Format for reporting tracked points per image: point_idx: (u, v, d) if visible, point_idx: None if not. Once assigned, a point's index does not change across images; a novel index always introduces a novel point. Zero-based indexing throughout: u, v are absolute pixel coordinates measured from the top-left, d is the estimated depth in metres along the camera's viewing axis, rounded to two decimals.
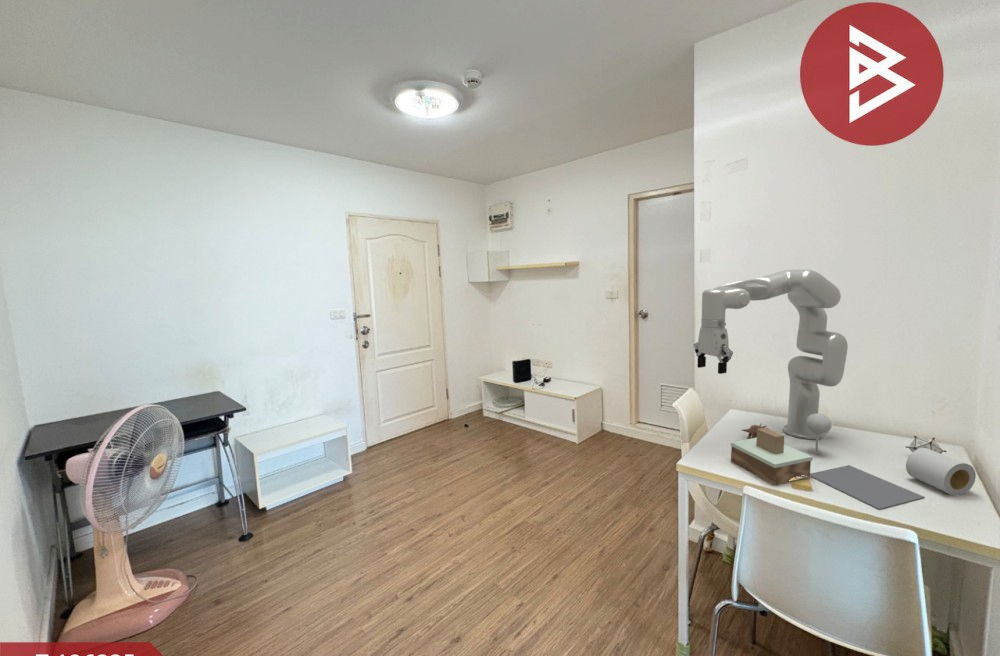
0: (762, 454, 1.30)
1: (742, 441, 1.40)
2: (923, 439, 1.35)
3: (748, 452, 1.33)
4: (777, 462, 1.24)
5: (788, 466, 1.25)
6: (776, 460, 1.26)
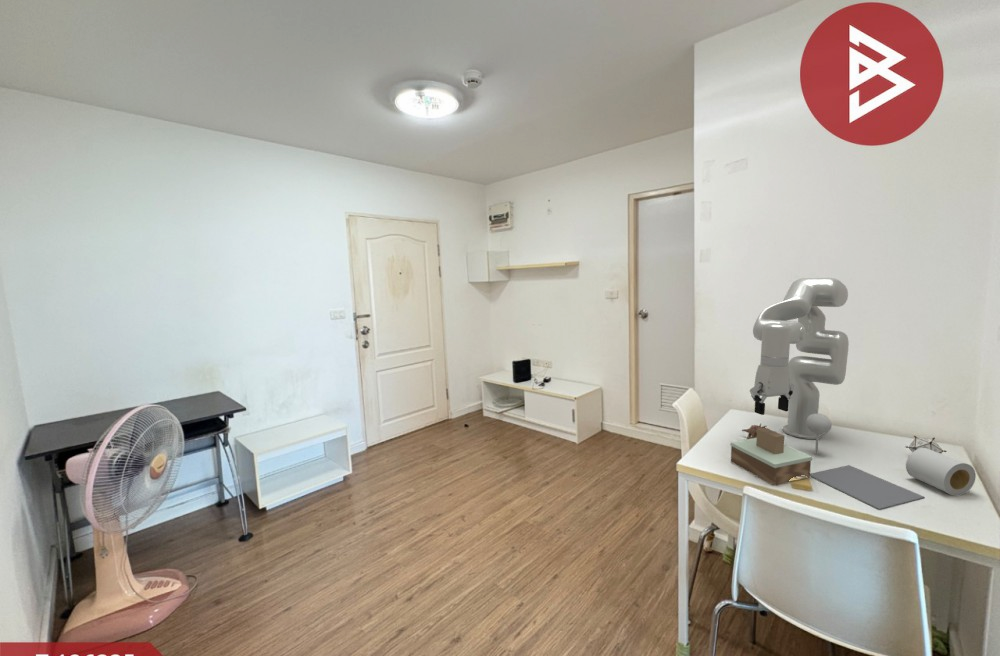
0: (762, 454, 1.30)
1: (742, 441, 1.40)
2: (923, 439, 1.35)
3: (748, 452, 1.33)
4: (777, 462, 1.24)
5: (788, 466, 1.25)
6: (776, 460, 1.26)
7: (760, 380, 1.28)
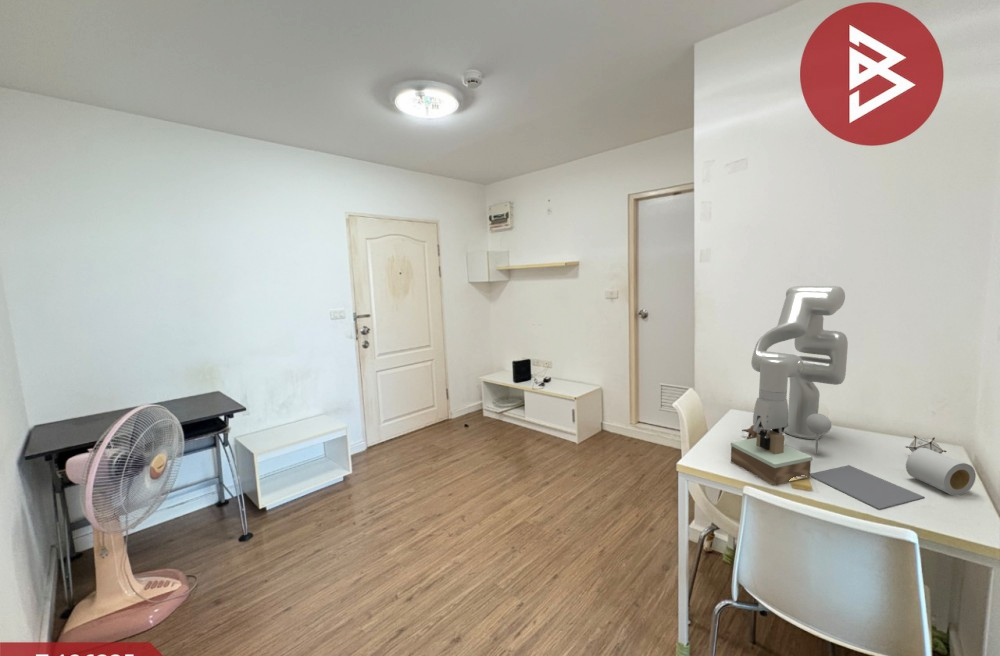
0: (762, 454, 1.30)
1: (742, 441, 1.40)
2: (923, 439, 1.35)
3: (748, 452, 1.33)
4: (777, 462, 1.24)
5: (788, 466, 1.25)
6: (776, 460, 1.26)
7: (759, 413, 1.30)
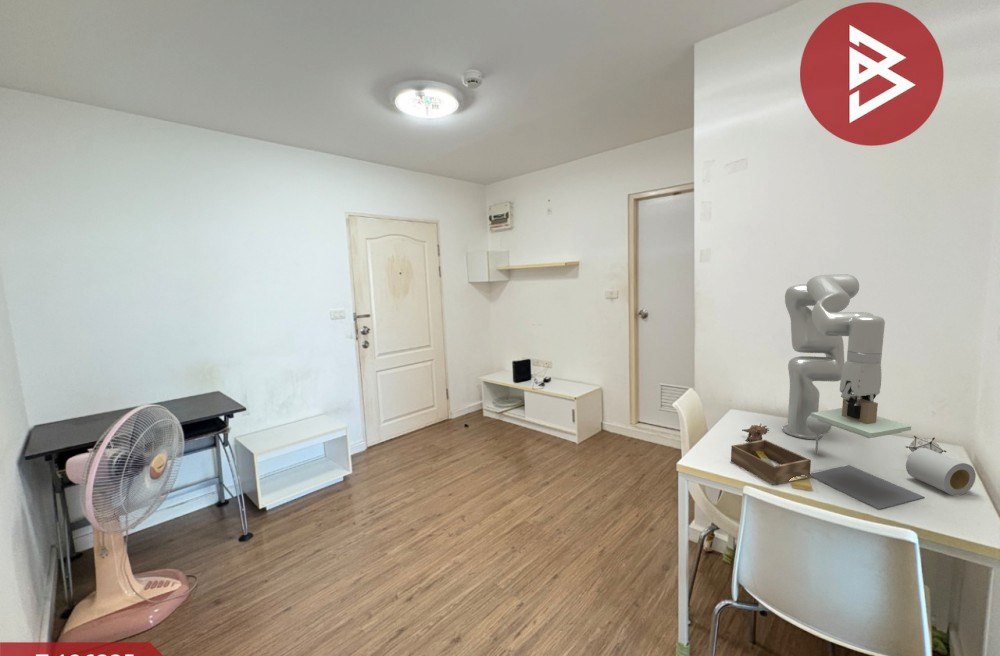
0: (852, 423, 1.17)
1: (824, 412, 1.27)
2: (923, 439, 1.35)
3: (834, 422, 1.20)
4: (873, 431, 1.11)
5: (788, 466, 1.25)
6: (870, 429, 1.13)
7: (848, 378, 1.17)
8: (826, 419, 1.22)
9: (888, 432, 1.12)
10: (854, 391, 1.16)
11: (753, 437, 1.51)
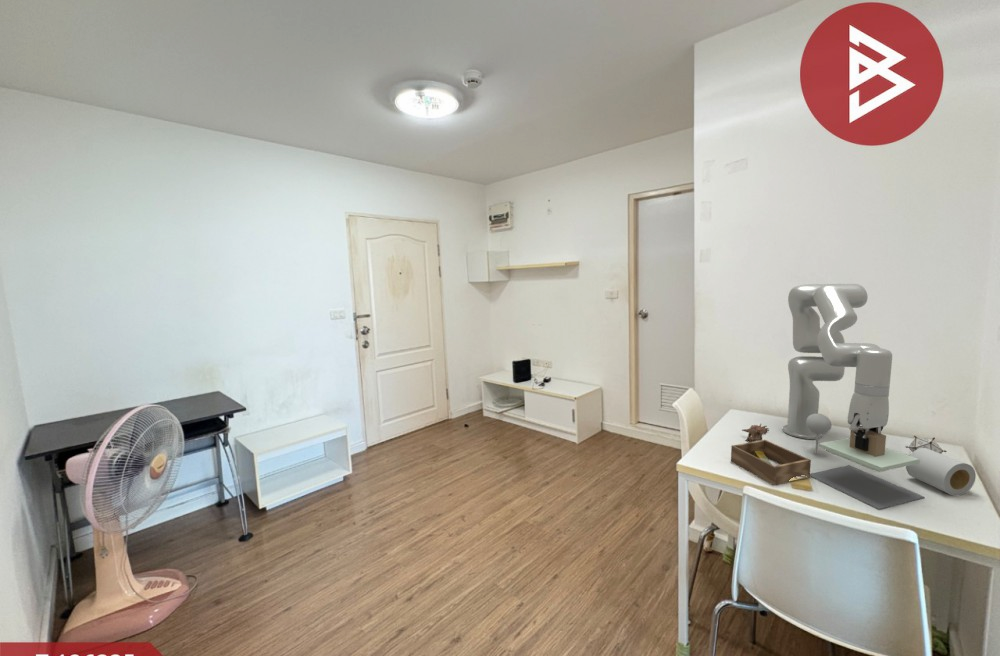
0: (861, 456, 1.17)
1: (831, 442, 1.27)
2: (923, 439, 1.35)
3: (843, 454, 1.19)
4: (883, 465, 1.11)
5: (788, 466, 1.25)
6: (880, 462, 1.13)
7: (856, 410, 1.17)
8: (834, 450, 1.22)
9: (897, 466, 1.12)
10: (863, 424, 1.16)
11: (753, 437, 1.51)
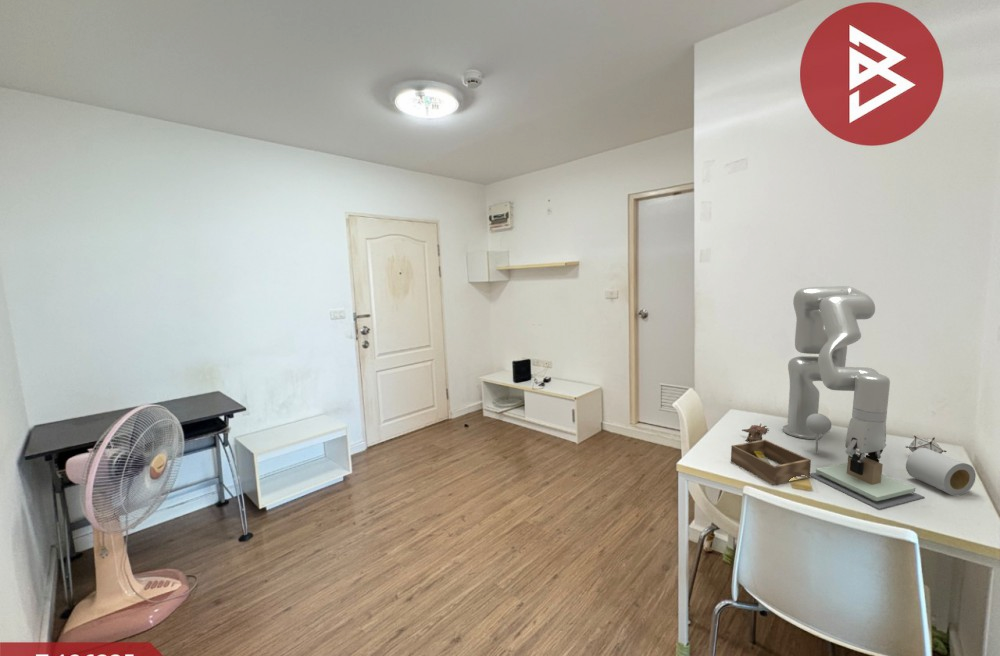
0: (858, 484, 1.18)
1: (828, 468, 1.28)
2: (923, 439, 1.35)
3: (840, 481, 1.21)
4: (879, 494, 1.13)
5: (788, 466, 1.25)
6: (876, 491, 1.14)
7: (854, 435, 1.19)
8: (831, 477, 1.23)
9: (893, 495, 1.13)
10: (860, 449, 1.17)
11: (753, 437, 1.51)
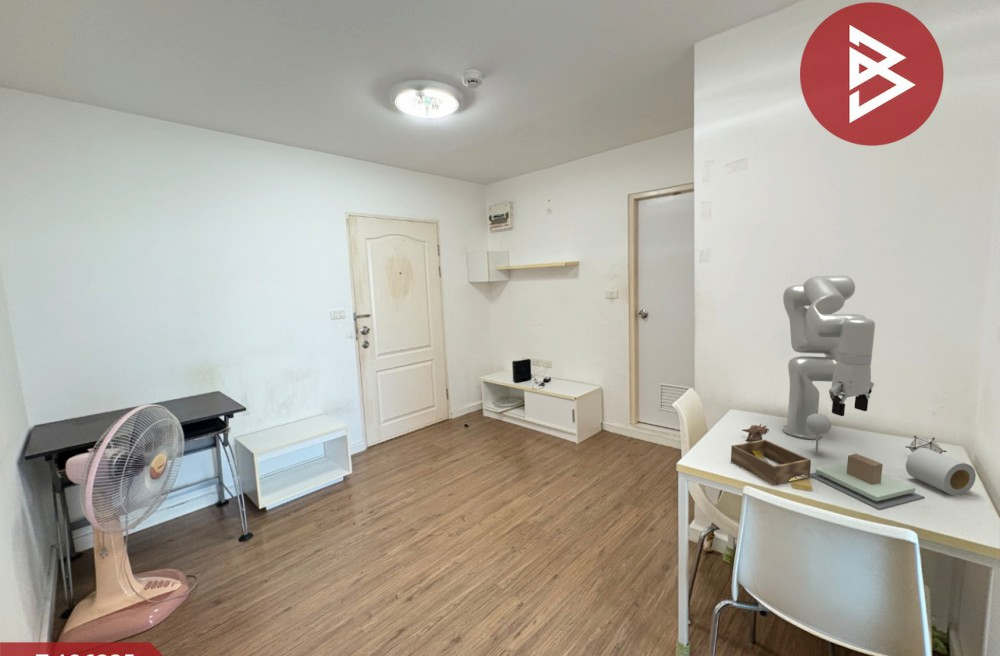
0: (858, 484, 1.18)
1: (828, 468, 1.28)
2: (923, 439, 1.35)
3: (840, 481, 1.21)
4: (879, 494, 1.13)
5: (788, 466, 1.25)
6: (876, 491, 1.14)
7: (840, 379, 1.20)
8: (831, 477, 1.23)
9: (893, 495, 1.13)
10: (846, 392, 1.19)
11: (753, 437, 1.51)
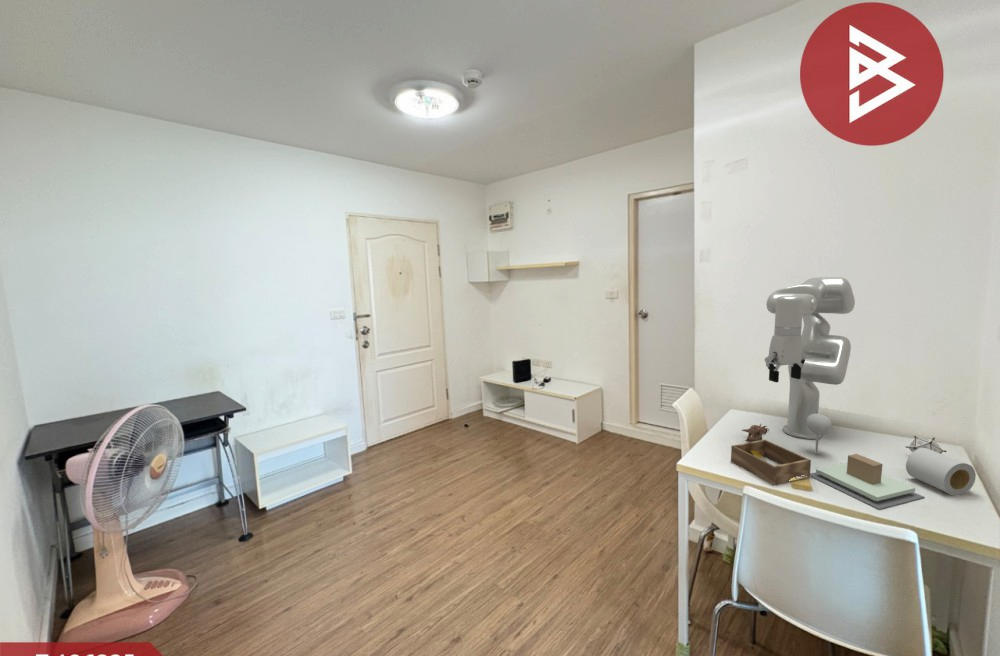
0: (858, 484, 1.18)
1: (828, 468, 1.28)
2: (923, 439, 1.35)
3: (840, 481, 1.21)
4: (879, 494, 1.13)
5: (788, 466, 1.25)
6: (876, 491, 1.14)
7: (774, 349, 1.36)
8: (831, 477, 1.23)
9: (893, 495, 1.13)
10: (779, 360, 1.35)
11: (753, 437, 1.51)
